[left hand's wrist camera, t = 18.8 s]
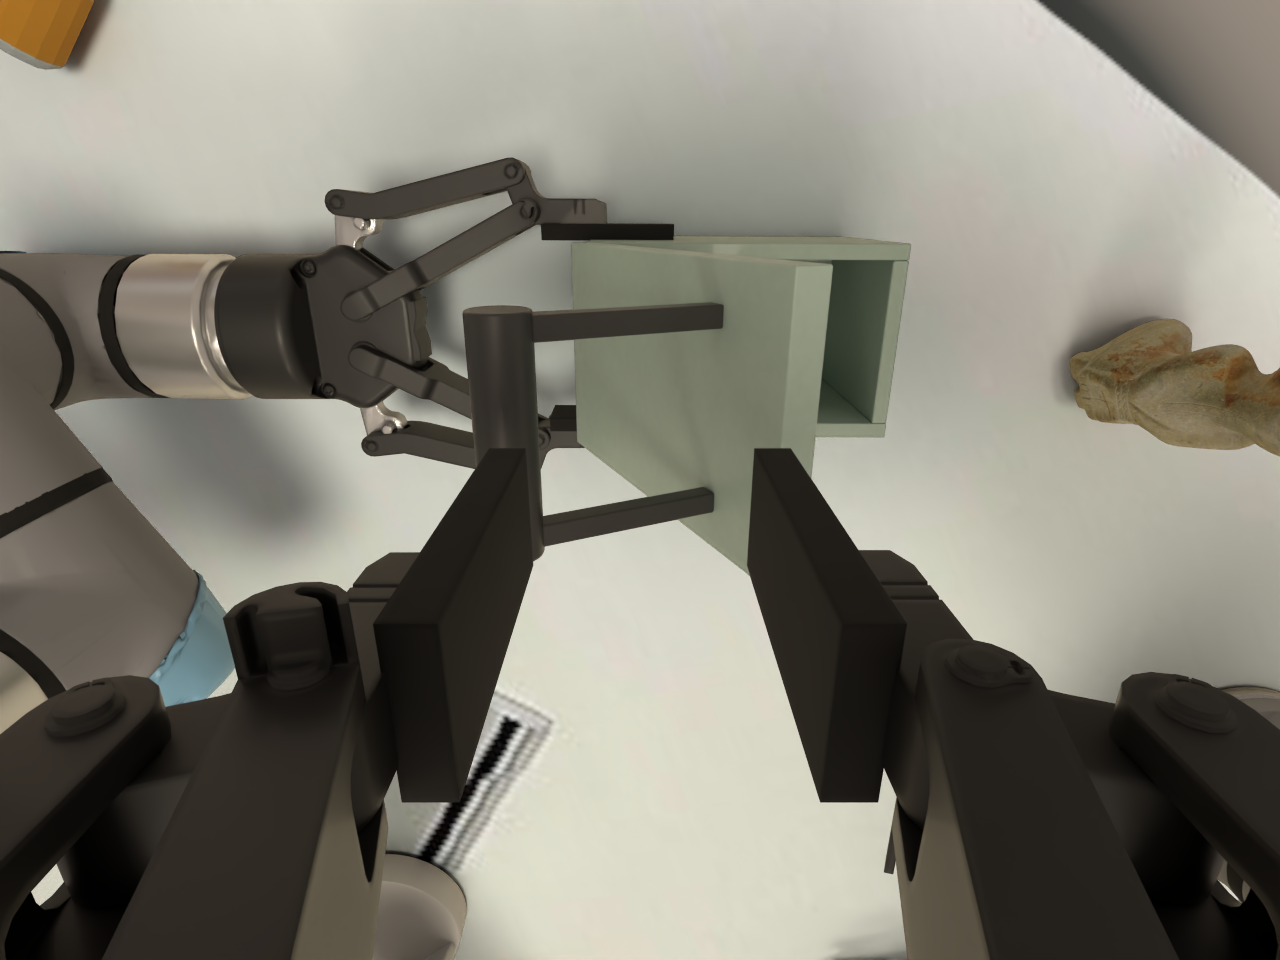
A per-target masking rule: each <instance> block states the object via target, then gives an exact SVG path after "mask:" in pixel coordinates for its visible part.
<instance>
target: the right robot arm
mask: <svg viewBox="0 0 1280 960" xmlns="http://www.w3.org/2000/svg"><path fill="white" fill-rule="evenodd" d="M504 191H508V193H509V196H510V199H511V201H512V205H511V206H509V207H507V208H505V209H504V210H502V211H500V212H498V213H497V214H495V215H493V216H491V217H490V218H488V219H486V220H484V221H482V222H481V223H479V224H477V225H475V226H474V227H472V228H470V229H468V230H467V231H465V232H463V233H461V234H460V235H458V236H456V237H454V238H453V239H451V240H449V241H447V242H446V243H444V244H442V245H440V246H439V247H437V248H435V249H433V250H431V251H430V252H428V253H426V254H424V255H423V256H421V257H419V258H417V259H416V260H414V261H411V262H409V263H407V264H405V265H403V266H401V267H400V268H398V269H396V270H394V269H393V268H391V267H390V266H389V265H387V264H386V263H384V262H383V261H381V260H380V259H378V258H377V257H376V256H374V255H373V254H371V253H370V252H368V251H367V250H365V249H364V248H362V244H363V241H364V239H365V238H366V237H367V236H369V235H374V234H377V233H379V232H380V231H381V229H382V226H383V219H398V218H403V217H408V216H412V215H415V214H419V213H423V212H427V211H431V210H435V209H439V208H442V207H446V206H450V205H454V204H458V203H462V202H466V201H469V200H473V199H477V198H481V197H485V196H489V195H493V194H496V193H500V192H504ZM325 204H326V207H327V209H328V210H329V211H330V212H331V213H332V214H334V215H335V232H336V246H334V247H332V248H330V249H329V250H327V251H326V252H324V253H321V254H245V255H241V256H239V257H237V258H236V257H234V256H231V255H229V254H148V255H132V256H126V255H92V254H45V253H26V252H21V251H0V734H1V733H2V732H4V731H5V730H6V729H7V728H9V727H10V726H11V725H12V724H14V723H15V722H16V721H17V720H19V719H20V718H21V717H22V716H24V715H25V714H26V713H28V712H29V711H31V710H32V709H34V708H35V707H37V706H38V705H40V704H41V703H43V702H45V701H46V700H48V699H49V698H51V697H53V696H56V695H58V694H60V693H62V692H65V691H67V690H69V689H70V688H72V687H74V686H76V685H79V684H82V683H85V682H88V681H89V682H92V681H93V680H96V679H101V678H107V677H108V678H109V677H118V676H127V675H132V676H139V677H146V678H149V679H151V680H152V681H153V682H155V683H156V684H157V685H159V688H160V691H161V694H162V697H163V701H164V704H165V707H167V706H172V705H177V704H182V703H187V702H192V701H198V700H203V699H206V698H207V697H209V696H210V695H211V694H212V693H213V692H214V691H215V690H216V689H217V688H218V687H219V686H220V685H221V684H222V683H223V682H224V681H225V680H226V679H227V677H228V676H229V675H230V674H231V673H232V671H233V670H234V668H235V665H234V661H233V657H232V653H231V649H230V645H229V641H228V637H227V633H226V629H225V625H224V621H223V617H224V616H225V615H226V614H227V613H226V612H225V610H224V609H223V608H222V606H221V605H220V604H219V602H218V601H217V599H216V598H215V597H214V595H213V594H212V593H211V591H210V590H209V588H208V587H207V586H206V582H205V581H204V579H203V576H202V575H200V574H199V573H197V572H196V571H195V570H192V569H191V568H190V567H189V566H188V565H187V564H186V563H185V561H184V560H183V559H182V558H181V557H180V556H179V555H178V554H177V553H176V551H175V550H174V549H173V548H172V547H171V546H170V545H169V544H168V543H167V542H166V540H165V539H164V538H163V537H162V536H161V535H160V534H159V533H158V532H157V530H156V529H155V528H154V527H153V526H152V525H151V524H150V523H149V522H148V520H147V519H146V518H145V517H144V516H143V515H142V514H141V513H140V512H139V511H138V509H137V508H136V507H135V506H134V505H133V504H132V503H131V502H130V501H129V499H128V498H127V497H126V496H125V495H124V494H123V493H122V492H121V491H120V489H119V488H118V487H117V486H116V485H115V484H114V483H113V481H112V478H111V477H110V476H109V475H108V474H107V473H106V472H105V470H104V469H103V468H102V466H101V465H100V464H99V463H98V462H97V460H96V459H95V458H94V457H93V456H92V455H91V453H90V452H89V451H88V450H87V449H86V448H85V446H84V445H83V444H82V443H81V442H80V440H79V439H78V438H77V437H76V436H75V435H74V433H73V432H72V431H71V430H70V429H69V428H68V426H67V425H66V424H65V423H64V422H63V421H62V419H61V418H60V417H59V416H58V415H57V413H56V412H55V411H54V410H57V409H59V408H62V407H65V406H68V405H71V404H74V403H78V402H81V401H86V400H93V399H105V398H207V399H246V398H249V397H252V396H255V397H258V398H262V399H339V400H343V401H346V402H348V403H350V404H352V405H354V406H356V407H359V408H360V410H361V414H362V417H363V421H364V425H365V429H366V432H367V436H366V437H365V438H364V439H363V440H362V443H361V445H362V449H363V451H364V452H365V453H366V454H367V455H370V456H383V455H393V454H402V453H406V454H410V455H415V456H419V457H424V458H428V459H433V460H437V461H442V462H446V463H451V464H455V465H460V466H464V467H469V468H473V469H476V461H475V449H474V438H473V433H472V432H467V431H463V430H458V429H454V428H450V427H445V426H441V425H437V424H432V423H427V422H422V421H407V420H406V418H405V416H404V415H403V414H401V413H399V412H394V411H391V410H389V409H387V408H386V407H385V405H384V403H383V400H384V399H386V398H387V397H388V396H390V395H391V394H392V393H393V392H395V391H396V390H397V389H401V390H404V391H406V392H408V393H410V394H412V395H414V396H416V397H419V398H422V399H429V400H432V401H434V402H436V403H439V404H441V405H443V406H445V407H447V408H449V409H451V410H453V411H455V412H457V413H459V414H462V415H464V416H466V417H468V418H470V419H472V415H471V404H470V393H469V381H468V379H466V378H464V377H462V376H460V375H458V374H456V373H454V372H452V371H450V370H449V369H448V367H447V366H445V365H444V364H442V363H440V362H438V361H436V360H434V359H431V358H429V356H430V355H431V354H432V350H431V341H430V338H429V335H428V333H427V330H426V327H425V323H426V316H427V304H426V297H422V294H421V292H420V290H422V289H423V288H425V287H427V286H429V285H431V284H432V283H434V282H436V281H438V280H439V279H440V278H442V277H444V276H446V275H447V274H449V273H451V272H453V271H455V270H456V269H458V268H460V267H462V266H464V265H465V264H467V263H469V262H471V261H472V260H474V259H476V258H478V257H480V256H481V255H483V254H485V253H487V252H489V251H490V250H492V249H494V248H496V247H497V246H499V245H501V244H503V243H505V242H506V241H508V240H510V239H512V238H514V237H515V236H517V235H519V234H521V233H523V232H524V231H526V230H528V229H530V228H531V227H533V226H535V225H541V234H542V240H674V224H607V208H606V203H604V202H601V201H599V200H597V199H547V198H544V197H543V196H541V195H540V194H539V193H538V191H537V189H536V187H535V184H534V182H533V179H532V176H531V171H530V169H529V167H528V166H527V165H526V164H525V163H523V162H521V161H519V160H517V159H515V158H505V159H501V160H498V161H494V162H490V163H486V164H482V165H479V166H475V167H471V168H467V169H463V170H460V171H456V172H452V173H448V174H444V175H441V176H437V177H433V178H429V179H425V180H422V181H418V182H414V183H410V184H406V185H403V186H399V187H395V188H391V189H387V190H384V191H380V192H376V193H368V192H360V191H351V190H340V189H333V190H331V191H329V192H328V193H327V194H326V196H325ZM538 431H539V450H540V470H541V468H542V465H543V462H544V459H545V456H546V454H547V453H548V451H550V450H551V449H554V448H585V447H584V446H582V445H581V444H580V443H578V442H577V416H576V405H555V407H554V409H553V412H552V414H551V415H550V417H549V419H548V418H546V417H544V416H542V415H540V414H538Z"/></svg>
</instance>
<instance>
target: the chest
mask: <svg viewBox="0 0 1280 960" xmlns="http://www.w3.org/2000/svg"><path fill="white" fill-rule="evenodd" d="M585 243H606V244H616V245H627V246H638V247H649V248H660V249H671V250H682V251H693V252H704V253H715V254H725V255H736V256H747V257H758V258H769V259H780V260H791V261H802V262H813V263H824V264H831V265H833V272H832V281H831V291H830V301H829V310H828V320H827V330H826V340H825V349H824V359H823V369H822V378H821V388H820V398H819V408H818V417H817V427H816V437H884V435H885V428H886V424H885V423H886V418H887V411H888V404H889V397H890V390H891V383H892V376H893V369H894V362H895V355H896V348H897V341H898V333H899V326H900V319H901V312H902V305H903V298H904V291H905V284H906V277H907V270H908V263H909V262H908V261H907V260H909V256H910V249H911V244H908V243H898V242H888V241H879V240H869V239H859V238H849V237H797V236H674V240H589V241H587V242H585Z"/></svg>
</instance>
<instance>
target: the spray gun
mask: <svg viewBox="0 0 1280 960" xmlns="http://www.w3.org/2000/svg"><path fill="white" fill-rule="evenodd" d="M94 1H95V0H0V49H1V50H3V51H5V52H6V53H8V54H10V55H12V56H14V57H16V58H18V59H20V60H21V61H23V62H26V63H28V64H30V65H32V66H35V67H37V68H41V69H59V68H61V67H63V66H64V65H65V64H66V62H67V60H68V58H69V56H70V54H71V51H72V49H73V47H74V45H75V43H76V40H77V38H78V36H79V34H80V32H81V30H82V27H83V25H84V23H85V21H86V19H87V16H88V14H89V12H90V10H91V8H92V6H93V3H94Z"/></svg>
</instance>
